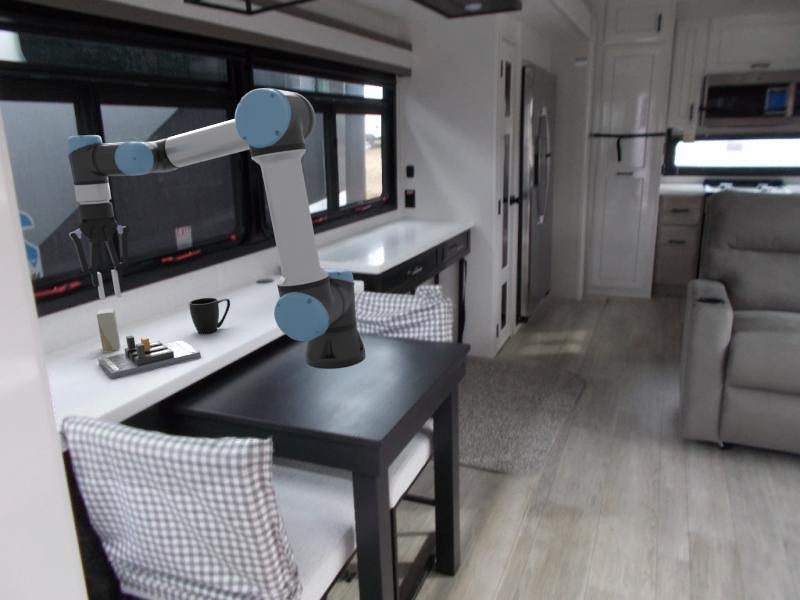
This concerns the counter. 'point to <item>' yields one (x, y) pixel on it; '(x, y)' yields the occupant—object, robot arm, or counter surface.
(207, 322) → the mug
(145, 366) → the panel
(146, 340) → the breaker handle
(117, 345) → the box
